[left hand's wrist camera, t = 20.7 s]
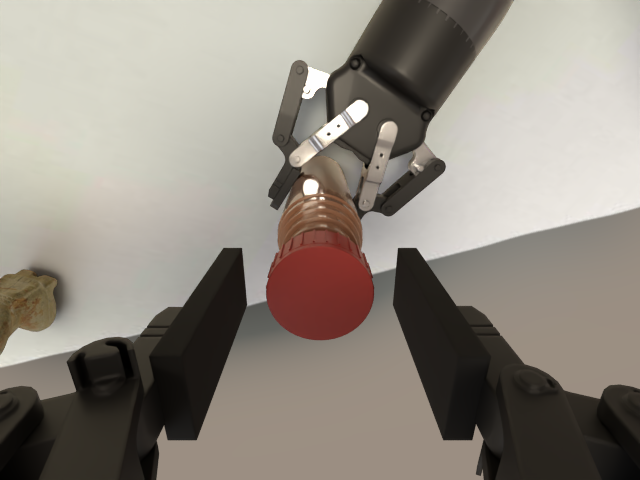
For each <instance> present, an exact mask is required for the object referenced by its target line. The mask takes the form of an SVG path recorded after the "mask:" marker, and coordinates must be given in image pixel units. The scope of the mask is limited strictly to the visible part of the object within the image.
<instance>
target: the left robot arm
mask: <svg viewBox="0 0 640 480" xmlns="http://www.w3.org/2000/svg"><path fill="white" fill-rule="evenodd" d="M246 306H247V299H246V288H245V277H244V266H243V255H242V248H223V250H222V251H221V253H220V254H219V255H218V257H217V258H216V260H215V261H214V263H213V264H212V266H211V267H210V268H209V270H208V271H207V273H206V274H205V276H204V277H203V279H202V280H201V281H200V283H199V284H198V286H197V287H196V289H195V290H194V292H193V293H192V294H191V296H190V297H189V299H188V300H187V302H186V303H185V305H184V306H183V307H168V308H166V309H165V310H163V311H162V312H160V313H159V314H157V315H156V316H155V317H154V318H153V320H152V321H151V322H150V323H149V325H148V326H147V328H145V330H144V331H143V332H142V333H141V335H140V337H138V339H137V340H136V341H135V342H134V343H132V342H131V341H130V340H129V339H127V338H122V337H111V338H105V339H101V340H98V341H94V342H92V343H90V344H88V345H86V346H84V347H82V348H81V349H79V350H78V351H76V352H75V353H74V354H73V355H72V356H71V357H70V358H69V360H68V361H67V364H68V367H69V370H70V373H71V376H72V379H73V382H74V385H75V388H76V392H74V393H71V394H67V395H62V396H58V397H54V398H49V399H45V400H40V399H39V396H38V394H37V391H36V390H34V389H33V388H32V387H26V386H19V387H13V388H8V389H5V390H2V391H0V480H156V477H157V468H158V459H159V450H158V445H157V438H158V436H159V434H160V432H161V430H162V428H163V426H165V430H166V435H167V439H168V440H197V438H198V435H199V432H200V430H201V427H202V424H203V422H204V419H205V416H206V414H207V411H208V408H209V406H210V403H211V400H212V398H213V395H214V392H215V390H216V387H217V384H218V382H219V379H220V376H221V373H222V371H223V368H224V365H225V363H226V360H227V357H228V355H229V352H230V349H231V347H232V344H233V341H234V339H235V336H236V333H237V330H238V328H239V325H240V322H241V320H242V317H243V314H244V312H245V309H246ZM393 306H394V309H395V312H396V314H397V317H398V320H399V322H400V325H401V328H402V330H403V333H404V336H405V339H406V341H407V344H408V347H409V349H410V352H411V355H412V357H413V360H414V363H415V365H416V368H417V371H418V373H419V376H420V379H421V382H422V384H423V387H424V389H425V392H426V395H427V398H428V400H429V403H430V406H431V408H432V411H433V414H434V416H435V419H436V422H437V424H438V427H439V430H440V433H441V435H442V438H443V440H472V439H473V435H474V430H475V426H476V424H477V426H478V428H479V430H480V432H481V435H482V437H483V439H484V440H483V445H482V449H481V453H480V457H479V461H478V465H477V471H476V475H480V476H481V473H482V469H483V476H484V480H640V389H637V388H634V387H630V386H625V385H610V386H608V387H607V388H606V389H604V391H603V394H602V396H601V399H597V398H593V397H589V396H584V395H580V394H576V393H571V392H568V391H564V390H563V389H562V387H561V386H560V384H559V383H558V382H557V381H556V380H555V379H554V378H553V377H551V376H550V375H549V374H547V373H545V372H543V371H541V370H540V369H538V368H535V367H532V366H528V365H525V364H524V363H523V362H522V361H521V359H520V358H519V357H518V356H517V354H516V353H515V352H514V351H513V349H512V348H511V347H510V346H509V344H508V343H507V342H506V341H505V339H504V338H503V337H502V336H500V333H499V332H498V331H497V329H496V328H495V327H493V324H492V323H491V322H490V321H489V320H488V318H487V317H486V316H485V315H484V314H483V313H481V312H480V311H478V310H477V309H475V308H474V307H472V306H456V305H455V303H454V302H453V300H452V299H451V297H450V296H449V294H448V293H447V292H446V290H445V289H444V287H443V286H442V284H441V283H440V281H439V280H438V279H437V277H436V276H435V274H434V273H433V271H432V270H431V268H430V267H429V266H428V264H427V263H426V261H425V260H424V258H423V257H422V255H421V254H420V253H419V251H418V250H417V248H398V255H397V266H396V277H395V288H394V299H393Z"/></svg>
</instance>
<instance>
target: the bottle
mask: <svg viewBox="0 0 640 480" xmlns="http://www.w3.org/2000/svg"><path fill="white" fill-rule="evenodd" d="M313 230H315V231H325V230H327V231H330V232H334V233H337V232H338V233H339V234H340V235H342V236H344V237H346V238H348V237H349V238H350V240H351V241H352V242H353V243H354V244H355V245H358V246H359V249H360V250H361V247H362V241H363V239H362V225H361V221H360V218H359V216H358V213H357V210H356V207H355V205H354V202H353V199H352V196H351V193H350V191H349V188H348V185H347V182H346V179H345V177H344V174H343V171H342V169H341V167H340V166H339V164H338V163H337V162H336V161H334V160H333V159H331V158H329V157H326V156H314V157H312V158H311V159H310V160H308V161H307V162H306V163H305V164H303V165H302V170H301V173H300V175H299V176H298V178H297V180H296V181H295V183H294V184H293V186H292V188H291V191H290V194H289V197H288V200H287V202H286V205H285V208H284V211H283V213H282V216H281V219H280V222H279V226H278V247H279V250H280V249H281V248H282V245H283V244H284V245H285V244H286V243H287V242H288V241H289V240H291V237H293V238H294V237H296V236H298V235H300V234H301V233H302V232H304V233H306V232H310V231H313Z"/></svg>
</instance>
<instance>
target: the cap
mask: <svg viewBox="0 0 640 480" xmlns="http://www.w3.org/2000/svg"><path fill="white" fill-rule="evenodd" d="M267 278H269V279H268V282H267V286H266V298H267V303H268V306H269V309H270V311H271V313H272V315H273V316H274V318H275V319H276V321H277V322H278V323H279V324H280V325H281V326H282V327H283V328H285V329H286V330H288V331H289V332H291V333H293V334H295V335H297V336H300V337H302V338H306V339H311V340H329V339H334V338H338V337H341V336H343V335H346V334H348V333H349V332H351V331H353V330H354V329H355V328H357V327H358V326H359V325H360V324H361V323H362V322H363V321H364V320H365V318H366V317H367V315H368V314H369V312H370V309H371V307H372V304H373V299H374V285H373V282H372V279H371V278H373V276H372V273H371V270H370V267H369V264H368V263H367V260H366V257H365V254H364V253H362V252H361V250H360V249H359V246H358V245H355V244H354V243H353V242H352V241H351V240H350V238H349V237H348V238H346V237H344V236H342V235H340V234H339V233H338V232H337V233H334V232H330V231H327V230H325V231H315V230H313V231H310V232H306V233H304V232H302V233H301V234H300V235H298V236H296V237H294V238H293V237H291V240H289V241H288V242H287V243H286V244H285V245H284V244H283V245H282V248H281V249H280V250H279V252H278V253H276V255H275V258H274V261H273V262H272V264H271V268H270V271H269V274H268V277H267Z"/></svg>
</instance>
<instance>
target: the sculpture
mask: <svg viewBox="0 0 640 480" xmlns="http://www.w3.org/2000/svg"><path fill="white" fill-rule="evenodd" d="M56 286H57V280H56V279H55V278H52V277H50V276H47V275H42V276H38V277H37V274H36V273H35V272H33V271H30V270H21V271H19V272H18V273H16V274H7V275H4V276H3V277H2V278H1V279H0V355H1V353H2V352H3V350H4V348H5V345H6V343H7V340H8V338H9V337H10V335H11V334H12V333H13V332H14V331H15V330H16V329H17V328H22V329H25V330H29V331H34V332H37V331H41V330H44V329H46V328H48V327H49V326H50V325H51V324H52V322H53V321H54V319H55V316H56V302H55V299H54V296H53V290H54V287H56Z"/></svg>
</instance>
